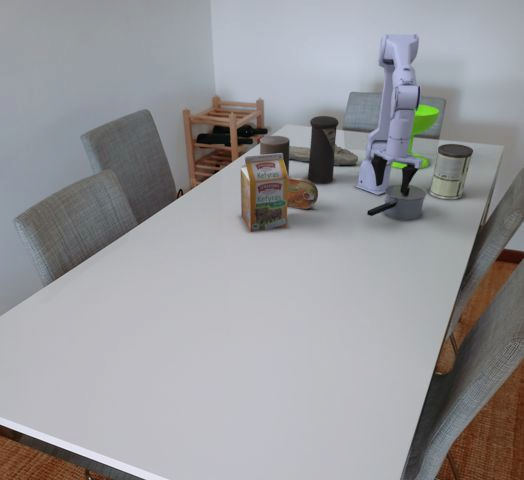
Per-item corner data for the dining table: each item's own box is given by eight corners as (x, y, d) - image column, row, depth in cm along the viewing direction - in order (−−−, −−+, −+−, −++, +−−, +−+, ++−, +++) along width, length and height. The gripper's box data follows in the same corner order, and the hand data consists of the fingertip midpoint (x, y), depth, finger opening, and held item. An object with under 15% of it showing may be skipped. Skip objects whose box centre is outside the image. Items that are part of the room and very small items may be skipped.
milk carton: (250, 231, 142) (249, 162, 130) (241, 216, 150) (240, 150, 138) (286, 227, 144) (288, 159, 132) (275, 212, 152) (277, 147, 140)
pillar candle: (288, 187, 168) (290, 140, 159) (259, 186, 169) (259, 139, 159) (288, 176, 176) (289, 131, 167) (260, 176, 176) (260, 130, 167)
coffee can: (426, 187, 169) (435, 143, 160) (458, 188, 168) (469, 144, 159) (431, 199, 161) (441, 153, 152) (465, 200, 160) (476, 154, 151)
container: (331, 185, 170) (337, 121, 157) (305, 183, 171) (308, 120, 159) (334, 176, 176) (340, 114, 164) (308, 174, 178) (312, 113, 165)
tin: (269, 202, 158) (270, 175, 153) (274, 199, 160) (274, 172, 155) (314, 211, 153) (316, 184, 147) (318, 208, 155) (320, 180, 150)
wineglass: (376, 158, 192) (383, 106, 180) (410, 152, 197) (419, 102, 186) (402, 171, 180) (411, 117, 169) (438, 165, 186) (449, 112, 174)
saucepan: (352, 220, 148) (355, 195, 143) (398, 201, 159) (402, 177, 154) (383, 234, 141) (388, 208, 136) (429, 213, 152) (435, 188, 147)
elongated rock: (272, 153, 200) (263, 162, 193) (271, 139, 196) (262, 148, 190) (360, 159, 189) (354, 169, 182) (361, 144, 185) (355, 154, 178)
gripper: (367, 134, 133) (360, 185, 141) (416, 145, 125) (407, 199, 134) (381, 129, 137) (374, 179, 145) (430, 139, 129) (420, 192, 138)
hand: (391, 188), depth 140 cm, fingers open, 7 cm apart
